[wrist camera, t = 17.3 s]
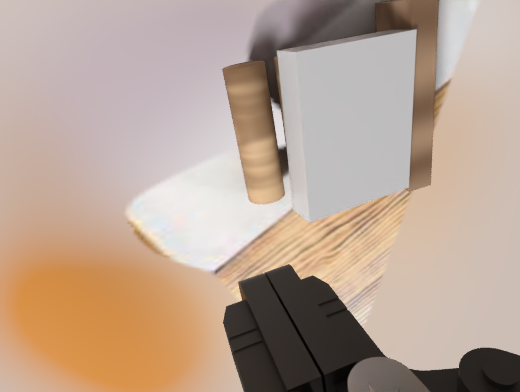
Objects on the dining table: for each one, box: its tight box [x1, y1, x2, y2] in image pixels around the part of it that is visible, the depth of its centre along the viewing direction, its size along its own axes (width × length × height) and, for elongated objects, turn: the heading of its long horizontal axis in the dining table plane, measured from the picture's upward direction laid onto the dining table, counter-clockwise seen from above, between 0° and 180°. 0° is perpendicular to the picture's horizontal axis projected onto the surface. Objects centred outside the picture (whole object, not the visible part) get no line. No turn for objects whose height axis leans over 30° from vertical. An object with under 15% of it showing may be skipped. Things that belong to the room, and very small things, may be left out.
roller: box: [223, 61, 285, 204], centre depth 34 cm, size 12×4×4 cm, turn 11°
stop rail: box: [376, 0, 439, 192], centre depth 36 cm, size 17×2×5 cm, turn 11°
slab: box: [277, 29, 417, 223], centre depth 33 cm, size 14×11×3 cm
